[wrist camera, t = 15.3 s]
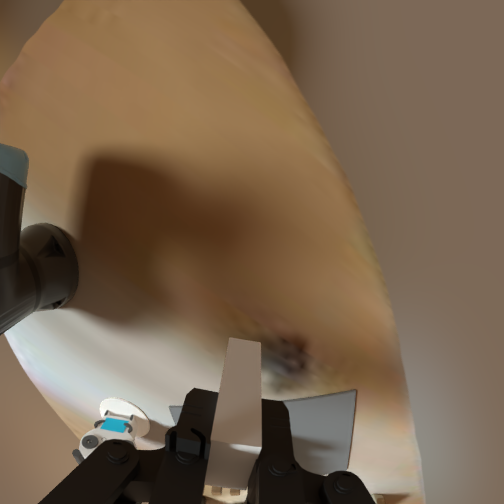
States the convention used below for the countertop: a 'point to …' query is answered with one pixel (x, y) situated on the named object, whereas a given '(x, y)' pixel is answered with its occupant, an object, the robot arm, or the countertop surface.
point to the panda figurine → (114, 426)
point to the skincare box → (378, 498)
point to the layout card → (317, 430)
